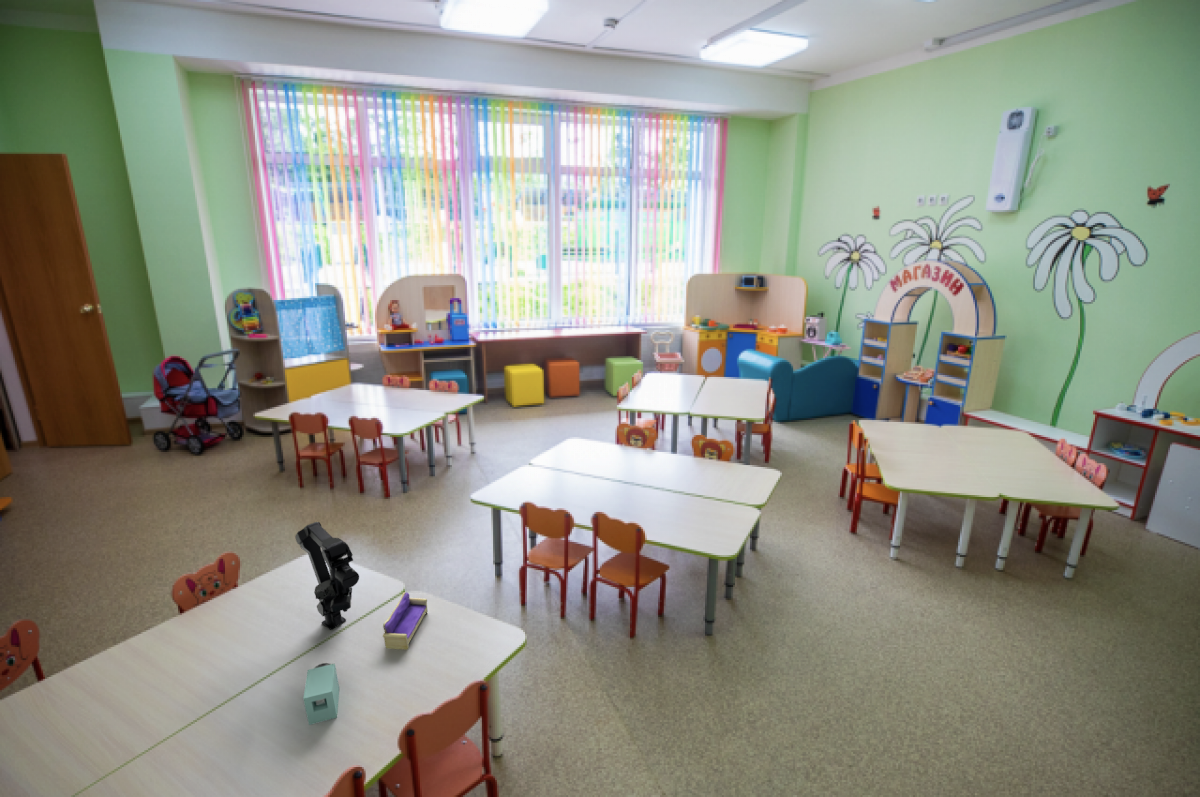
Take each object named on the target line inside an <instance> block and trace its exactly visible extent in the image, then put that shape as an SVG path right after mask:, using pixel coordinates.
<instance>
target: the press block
mask: <svg viewBox="0 0 1200 797" xmlns="http://www.w3.org/2000/svg"><path fill="white" fill-rule="evenodd" d="M330 664H331V663H330ZM304 685H305V687H304V690H303V691H304V692H303V698H302V700H303V704H304V708H305V712H306V713H305V714H306V717H307V722H308V726H310V725H313V724H318V723H323V722H326V721H330V720H333V719H337V718H338V712H339V699H340V684H339V679H338V673H337V668H336V664H335V663H332V664H331V665H326V666H322V667H318V668H315V667H314V668H310V669H307V672H306V680H305V684H304ZM325 698H326V700H325V703H324V704H321V705H316V701H317V700H321V699H325Z"/></svg>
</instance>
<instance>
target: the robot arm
mask: <svg viewBox="0 0 1200 797" xmlns="http://www.w3.org/2000/svg"><path fill="white" fill-rule="evenodd" d="M294 537H295V542H296V543H297V545H298V546H299V547H300V548H301V549H302V550H303V551H304V552H305V553H306V554H307V555H308V558H309V561H310V563H311V566H312V569H313V572H314V574H315V578H316V580H317V583H318V585H316V586H315V587H314V592H313V593H314V596H315V600H318V601H319V602H318V604H317V605H316V608H317V612H318V613H319V614H320V615H321V617H324V620H322V621H321V625H323V626H325V627H326V628H328V630H334V628H336V627H338V626H340V625H341V624H343V623H345V622H346V620H347V618H345V617H344V616H342V612H344V613H345V612H346V613H347V612H348V610H349V609H351V607H352V596H353V595H352V593H353V587H354V586H356V584H357V583H359V580H360V574H359V573H358V572H357V571H356V570H355V569H354V568H353V567H351V565H350V562H353V561H354V559H353V552H352V551H351V549H350V547H349V545H348V543H347V542H346V541H344V540H343V539H341V538H340V537H333V536H332V535H331V534H330V533H329V532H328V531H327V530H326V529H324V527H323V526H322V524H321V522H320V521H314V522H312V523H309V524H307V525H305V526H304V527H303V528H302V529H301V530H299V531H297V533H296V534H295V536H294ZM345 556H346V557H345Z"/></svg>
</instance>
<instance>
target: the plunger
mask: <svg viewBox="0 0 1200 797" xmlns="http://www.w3.org/2000/svg"><path fill="white" fill-rule="evenodd" d="M326 665H331V663H327V662H325V663H323V662H322V663H319V664H318V665H316V666H315V667H314V668H318V667H322V666H326ZM325 700H326V698H325V699H321V700H317V701H316V705H321V704H324V703H325Z"/></svg>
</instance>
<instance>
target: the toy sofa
mask: <svg viewBox="0 0 1200 797" xmlns="http://www.w3.org/2000/svg"><path fill="white" fill-rule="evenodd" d="M427 602H428V599H427V598H419V597H418V598H417V597H416V598H415V597H410V593H409V592H407V591H406V592H402V594H401V597H400V599H399V600H398V602H397V604H396V605H395V607H394V609H393V610H392V611H391V614H390V615H389V616H388V618H387V619H386V620H385V621H384V623H383V625H382V628H383V630H384V632H383V634H382V637H383V639H384V640H383V641H384V644H385V648H386V649H391V650H409V646H410V645H409V644H410V642H411V640H412V638H413V637H414V634H415V632H416V631H417V629H418V628H419V625H420V624H421V622H422V620H423V619H424V617H425V615H426V614H425V613H427V612H428V603H427ZM427 614H428V613H427Z"/></svg>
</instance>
